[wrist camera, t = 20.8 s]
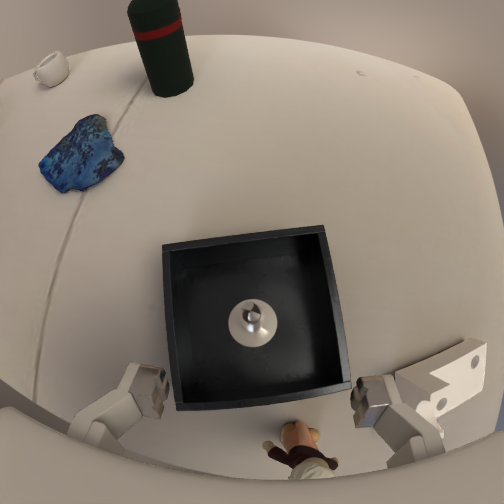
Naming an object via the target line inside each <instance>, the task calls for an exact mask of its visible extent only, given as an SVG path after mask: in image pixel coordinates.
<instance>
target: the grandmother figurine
mask: <svg viewBox="0 0 504 504" xmlns="http://www.w3.org/2000/svg"><path fill="white" fill-rule="evenodd" d="M319 438H320V433H319V431H318V430H316V429H313V428H311V429H308V428H307V426H306V425H305V424H304V423H302V422H297V423H295V424H292V423H288V424H286V425H284V426H283V428H282V431H281V437H280V441H281V443H283V445H284V448H285V449H286V451H287V453H286V452H285V451H283V450H282V449H280V448H279V447H277V446H275V445H274V444H273V443H272V442H271V441H265V442H264V443H263V448H264V449H265V450H266V452H267V453H268V456H269V457H270V458H272V459H274V460H277V461H279V462H281V463H283V464H286V465H289V467H291V468H292V469H293V470H292V472H291V476H290V477H288V478H289V480H301V479H318V478H330V477H335V473H334V472H333V470H335V469H336V468H337V467H338V463H339V461H338V459H337V458H331V459H330V458H326V457H325V456H324V455H323V454H322V453H321V452H319V450H318V448H317V445H316V443H315V442H316V441H318V439H319Z"/></svg>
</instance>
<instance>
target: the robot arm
mask: <svg viewBox="0 0 504 504" xmlns="http://www.w3.org/2000/svg"><path fill="white" fill-rule="evenodd" d="M165 374H166V372H165V369H164V368H160V367H154V366H149V365H144V364H140V363H135V362H131V363H130V364H129V365H128V367H127V369H126V371H125V373H124V375H123V377H122V379H121V381H120V384H119V386H118V388H117V389H113V390H111V391H110V392H108V393H107V394H105V395H104V396H102V397H101V398H99V399H98V400H96V401H94V402H93V403H91V404H90V405H88V406H87V407H85V408H83V409H82V410H80V411H79V412H77V413H76V415H75V417H74V419H73V421H72V423H71V425H70V427H69V429H68V431H67V434H66V435H64V434H62V433H60V432H58V431H56V430H54V429H52V428H50V427H48V426H46V425H44V424H42V423H40V422H38V421H36V420H34V419H32V418H31V417H29V416H27V415H25V414H24V413H22V412H20V411H19V410H17V409H15V408H13V407H5V408H2V409H0V504H504V431H503V430H498V431H495V432H493V433H491V434H489V435H487V436H485V437H482V438H480V439H478V440H476V441H473V442H471V443H468V444H466V445H464V446H461V447H458V448H456V449H453V450H450V451H448V452H445V449H444V445H443V442H442V439H441V436H440V433H439V430H438V429H437V428H435V427H434V426H433V425H432V424H431V423H429V422H428V421H427V420H426V419H424V418H423V417H422V416H421V415H420V414H418V413H417V412H416V411H415V410H413V409H412V408H411V407H410V406H409V405H407V404H406V403H402V400H401V398H400V395H399V392H398V389H397V386H396V383H395V381H394V378H393V376H392V375H391V374H389V375H381V376H380V375H377V376H367V377H359V378H358V379H357V381H356V384H357V386H356V387H354V388H353V390H352V392H351V398H350V400H351V408H352V409H353V410H354V411H355V414H354V415H353V418H354V423H355V428H364V427H373V426H374V427H373V428H374V429H375V430H376V431H377V433H378V434H379V435H380V436H381V437H382V438H383V439H384V441H385V442H386V443H387V444H388V445H389V446H390V447H391V448H392V450H393V451H394V452H395V454H394V455H393V456H392V457H391V458H390V459H389V460H388V461H387V467H388V469H383V470H378V471H373V472H367V473H361V474H355V475H347V476H339V477H330V478H318V479H301V480H257V479H240V478H228V477H219V476H209V475H203V474H196V473H190V472H185V471H179V470H174V469H169V468H164V467H160V466H156V465H151V464H147V463H144V462H140V461H137V460H133V459H130V458H126V457H123V456H122V455H123V453H124V449H123V447H122V446H121V445H120V443H119V442H118V441H117V439H118V438H119V437H120V436H121V435H123V434H124V433H125V432H126V431H127V430H128V429H129V428H131V427H132V426H133V425H134V424H135V423H136V422H137V421H139V420H140V419H141V418H142V417H143V416H147V417H152V418H157V419H161V416H162V413H163V410H164V405H163V402H164V401H165V400H166V399H167V397H168V393H169V382H168V379H167V378H165Z"/></svg>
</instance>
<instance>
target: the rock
mask: <svg viewBox="0 0 504 504" xmlns="http://www.w3.org/2000/svg"><path fill="white" fill-rule="evenodd" d="M105 120H106V119H105V118H104V117H102V116H100V115H98V114H93V115H89V116H87V117H85V118H83V119H81V120H79V121H78V122H77V123H76V124H75V126H74V128H73V129H72V131H71V132H70V133H69V134H67V135H66V136H65V137H63V138H62V140H61V141H60V142H59V143H58V144H57V145H56V146H55V147H54V148H53V149H51V150H50V152H49V153H48V154H47V155H46V156H45V157H44V158H43V159H42V161H41V162H40V163H39V168H40V171H41V173H42V174H43V175H44V176H45V177H46V180H47V181H48V182H49V183H51V184H52V185H53V186H54V188H56V189H57V190H58V191H59V192H61V193H66V192H67V189H69V188H75V189H78V190H80V191H84V190H85V188H87V187H88V186H90V185H93V184H95V183H97V182H99V181H100V180H102V179H103V178H104V177H105V176H107V175H108V174H110V173H111V172H112V171H113V170H114V169H115V168H117V166H118V165H119V164H121V163H122V161H123V159H124V156H123V153H122V152H121V151H120V150H118V149H117V148H116V147H114V144H113V141H112V138H111V137H110V136H111V135H110V134H109V132H108V129H107V126H106V121H105Z"/></svg>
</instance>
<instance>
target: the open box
mask: <svg viewBox="0 0 504 504" xmlns="http://www.w3.org/2000/svg"><path fill="white" fill-rule="evenodd" d="M162 252H163V253H162V263H163V288H164V305H165V319H166V331H167V342H168V352H169V361H170V369H171V377H172V385H173V392H174V399H175V405H176V410H177V411H201V410H220V409H233V408H244V407H253V406H262V405H269V404H276V403H283V402H289V401H295V400H301V399H307V398H312V397H317V396H322V395H326V394H331V393H335V392H340V391H344V390H348V389H351V388H352V385H351V381H350V380H351V375H350V367H349V359H348V352H347V345H346V338H345V331H344V325H343V319H342V313H341V307H340V301H339V296H338V290H337V285H336V280H335V275H334V270H333V265H332V260H331V255H330V251H329V246H328V241H327V237H326V233H325V229H324V225H317V226H308V227H299V228H291V229H282V230H273V231H265V232H257V233H249V234H240V235H232V236H224V237H217V238H209V239H201V240H194V241H186V242H179V243H171V244H164V245H162ZM249 299H257V300H261V301H263V302H265V303H267V304H268V305H269V306H270V307H271V308H272V309H273V311H274V312H275V314H276V317H277V329H276V332H275V334H274V336H273V337H272V338H271V339H270V341H268V342H267V343H266V344H264V345H261V346H257V347H248V346H244V345H242V344H240V343H239V342H237V341H236V340H235V339H234V338H233V336H232V335H231V333H230V330H229V322H228V321H229V316H230V314H231V311H232V310H233V309H234V307H235V306H236V305H238V304H239V303H241V302H242V301H245V300H249Z"/></svg>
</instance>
